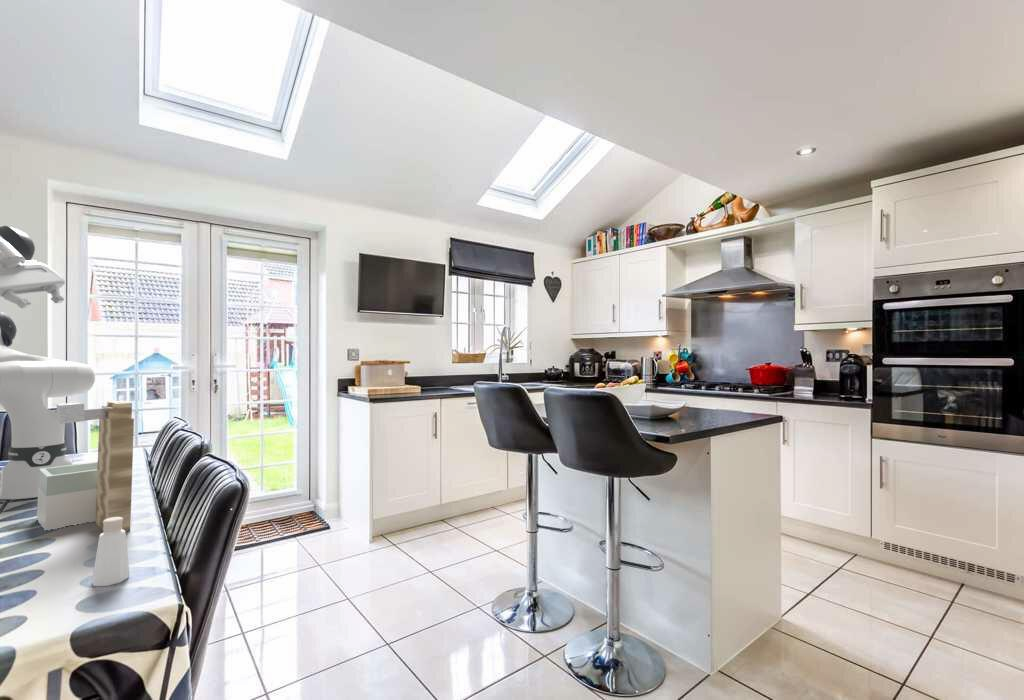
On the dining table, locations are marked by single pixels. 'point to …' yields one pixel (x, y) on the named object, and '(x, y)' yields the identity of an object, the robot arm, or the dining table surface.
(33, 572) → the dining table surface
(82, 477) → the raised tray
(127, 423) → the tan wooden tall block
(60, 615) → the dining table surface
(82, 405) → the bar
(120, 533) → the pepper shaker
